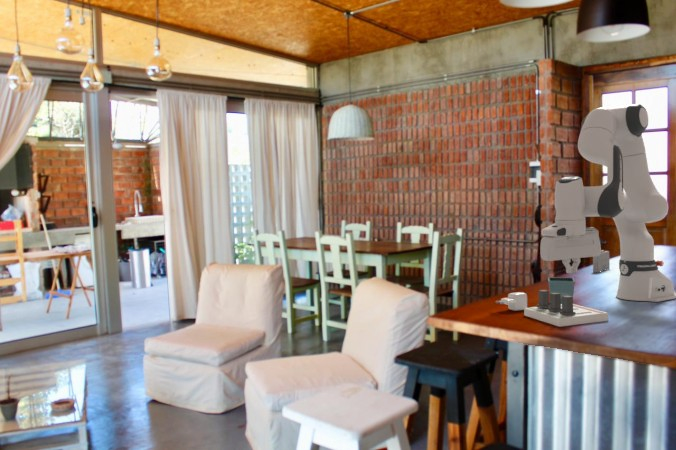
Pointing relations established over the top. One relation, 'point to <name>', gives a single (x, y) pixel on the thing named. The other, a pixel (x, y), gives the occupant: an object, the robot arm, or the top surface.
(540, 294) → the far handle
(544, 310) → the panel
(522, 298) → the power adapter
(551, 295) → the middle handle
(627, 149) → the robot arm
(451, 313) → the top surface
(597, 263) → the cassette player
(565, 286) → the flower pot
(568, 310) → the handle
